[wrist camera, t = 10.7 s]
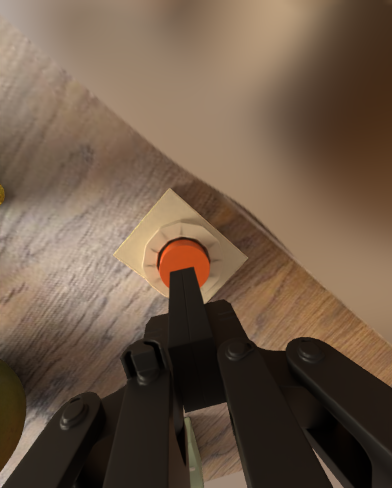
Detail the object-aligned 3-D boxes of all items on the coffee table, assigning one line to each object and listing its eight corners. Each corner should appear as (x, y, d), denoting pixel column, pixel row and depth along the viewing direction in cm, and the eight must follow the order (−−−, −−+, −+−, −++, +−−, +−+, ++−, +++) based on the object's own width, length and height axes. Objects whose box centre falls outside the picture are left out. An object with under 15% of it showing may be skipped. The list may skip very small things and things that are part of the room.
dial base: (188, 412, 28) (190, 440, 25) (201, 462, 30) (205, 493, 27) (110, 433, 27) (102, 463, 24) (130, 482, 29) (125, 516, 26)
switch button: (215, 258, 19) (220, 266, 17) (185, 291, 20) (187, 302, 18) (181, 229, 18) (182, 234, 16) (151, 264, 19) (148, 273, 17)
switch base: (241, 252, 23) (255, 264, 19) (192, 305, 24) (196, 326, 20) (169, 187, 21) (169, 187, 17) (118, 249, 22) (106, 261, 18)
